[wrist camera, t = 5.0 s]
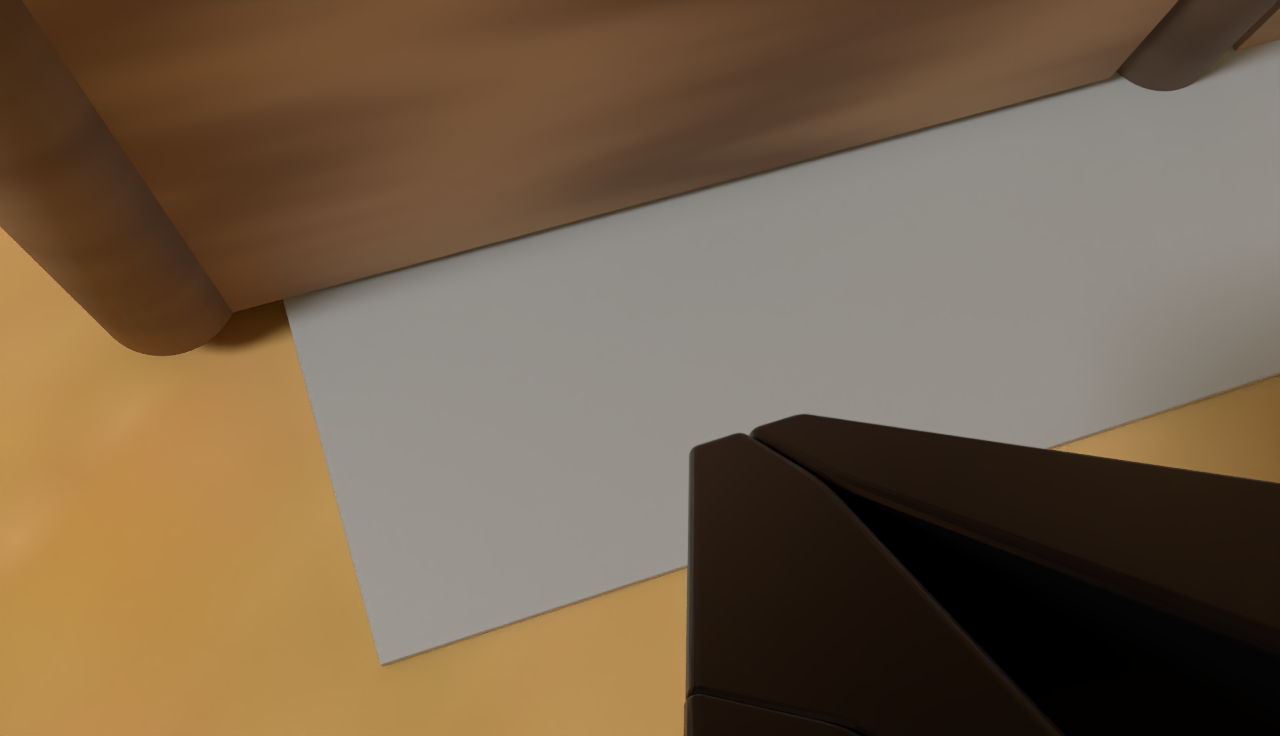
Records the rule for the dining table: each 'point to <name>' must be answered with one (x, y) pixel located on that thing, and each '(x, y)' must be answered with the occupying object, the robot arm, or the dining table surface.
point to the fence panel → (453, 123)
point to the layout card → (788, 334)
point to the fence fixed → (1199, 40)
